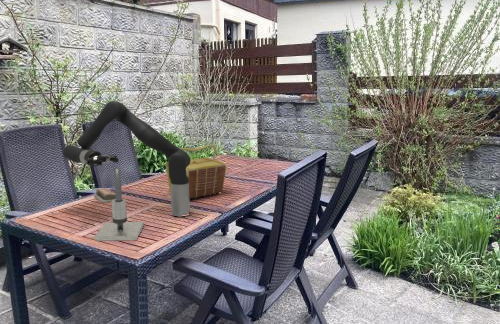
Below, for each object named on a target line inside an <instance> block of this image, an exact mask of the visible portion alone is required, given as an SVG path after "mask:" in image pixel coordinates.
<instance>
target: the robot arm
mask: <svg viewBox="0 0 500 324" xmlns="http://www.w3.org/2000/svg"><path fill="white" fill-rule="evenodd" d="M114 120H115V121H117V122H119V123H121V124H122V125H124V126H125V127H126V128H128V129H129V131H130V132H131V133H132V134H133V136H134V137H135V138H136V139H137V140H139V141H140V142H141V143H142V144H144V145H145V146H147V147H148V148H150V149H152V150H154V151H156V152H159V153H161V154H163V155H165V157H167V158H168V161H167V162H168V168H169V178H170V180H171V192H170V202H171V203H170V204H171V207H170V208H171V211H170V212H171V216H172V215H174V216H182V215H187V214H189V212H190V213H191V203H190V202H191V199H190V196H189V178H188V177H187V175H186V167H187V166H189V164H190V161H191V156H190V155H189V154H188V152H187V151H186V150H182V149H180V148H181V147H178V146H177V145H176V144H173V143H172V142H171V141H170V140H169V139H167V138H166V137H165V136H164V135H162V133H160V132H159V131H158V130H157V129H155V128H154V127H152V126H151V125H150V124H148V123H146V121H144V120H142V119H141V118H139V117H137V116H136V115H135V114H134V113H133V112H132V111H131V110H130V109H129V108H128V107H127V106H126V105H125V104H123V103H122V102H119V101H117V100H110V101H108V102H107V103H106V104H105V105H104V107H103V108H102V110H101V111H100V113H99V114H98V115H97V117H96V119H94V121H93V122H92V123H91V125H89V127H87V129H86V130H85V132H84V131H83V132H84V133H82V134H81V135H80V137H79V138H78V139H77V140H76V142H77V144H78V146H80V147H78V146H76V145H71V144H68V145H67V146H65V147H64V148H63V150H62V156H63V157H64V158H66V159H68V160H69V161H70V162H73V163H75V164H79V163H81V164H84V165H87V166H91V167H98V166H102V165H103V164H109V163H116V164H117V163H119V158H118V156H117V155H114V154H113V155H112V154H108V155H104V154H102V153H101V152H100V151H98V150H92V149H90V148H91V147H92V146H93V145H94V144H95V142H96V141H98V140H99V138H100V136H101V135H102V132H103V131H104V129H105V128H106V126H108V125H109V123H112V121H114ZM189 215H190V214H189Z"/></svg>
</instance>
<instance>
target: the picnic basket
mask: <svg viewBox="0 0 500 324" xmlns="http://www.w3.org/2000/svg"><path fill="white" fill-rule="evenodd" d="M209 147H213V155H212V158H209V157H206V156H205V157H204V156H203V157H201V158H190V160H191V161H190V164H189V166H187V167H186V175H187V177H188V178H189V196H190V200H192V199H191V198H194V199H196V198H195V197H199V198H201V197H200V196H204V197H206V196H205V195H209V196H211V195H210V194H214V195H216V194H215V193H219V192H222V193H223V190H224V184H225V177H226V171H227V164H226V163H225V162H224V161H220V160H217V159H216V151H217V150H216V149H217V148H216V145H214V144H207V145H206V144H205V145H203V146H199V147H197V148H196V147H195V148H190V147H179V148H180V149H182V150H183V151H186V152H187V151H188V152H197V151H201V150H204V149H206V148H209ZM165 170H166V177H167V181H168V182H167V183H168V187H169V192H170V193H171V180H170V178H169V168H168V161H166V163H165Z"/></svg>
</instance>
